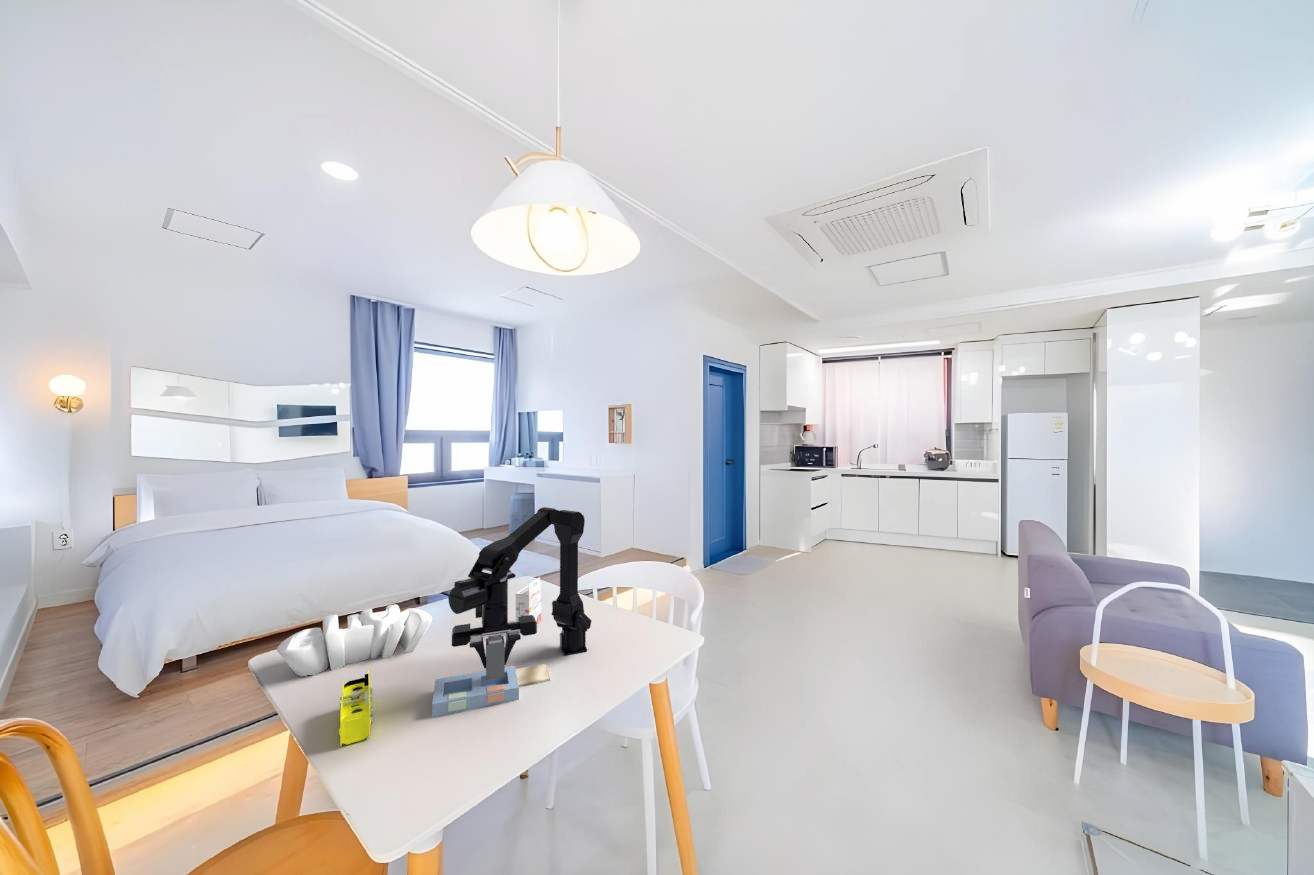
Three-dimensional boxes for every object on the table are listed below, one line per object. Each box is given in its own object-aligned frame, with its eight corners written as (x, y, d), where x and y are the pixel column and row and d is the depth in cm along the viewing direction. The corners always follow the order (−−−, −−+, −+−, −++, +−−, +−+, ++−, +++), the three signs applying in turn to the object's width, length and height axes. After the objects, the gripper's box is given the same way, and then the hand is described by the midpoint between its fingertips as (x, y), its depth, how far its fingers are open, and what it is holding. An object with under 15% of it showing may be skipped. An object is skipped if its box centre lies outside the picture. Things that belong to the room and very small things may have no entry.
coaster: (545, 666, 121) (545, 663, 121) (550, 681, 114) (550, 678, 114) (513, 672, 118) (513, 669, 118) (516, 688, 111) (516, 685, 111)
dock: (514, 677, 116) (514, 664, 116) (519, 701, 105) (519, 686, 105) (435, 692, 109) (435, 678, 109) (431, 718, 99) (432, 703, 99)
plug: (503, 668, 111) (503, 633, 111) (504, 676, 108) (504, 640, 108) (485, 672, 110) (485, 636, 110) (486, 680, 106) (486, 643, 106)
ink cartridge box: (527, 620, 152) (527, 575, 152) (541, 621, 151) (541, 576, 151) (514, 630, 144) (514, 583, 144) (529, 632, 143) (529, 584, 143)
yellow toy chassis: (372, 740, 92) (373, 699, 92) (338, 751, 89) (338, 708, 89) (371, 701, 105) (371, 665, 105) (341, 709, 102) (341, 672, 102)
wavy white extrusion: (428, 631, 143) (428, 598, 143) (433, 653, 129) (433, 615, 129) (285, 659, 125) (285, 620, 125) (273, 687, 111) (273, 644, 111)
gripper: (531, 585, 120) (531, 645, 120) (453, 594, 113) (453, 658, 113) (537, 599, 110) (537, 664, 110) (451, 610, 103) (451, 680, 103)
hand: (495, 666), depth 109 cm, fingers closed on plug, 4 cm apart
